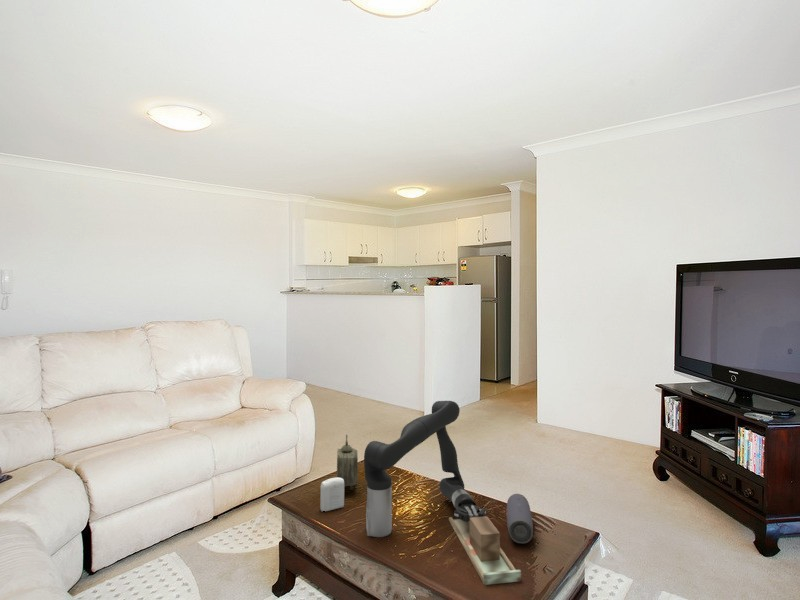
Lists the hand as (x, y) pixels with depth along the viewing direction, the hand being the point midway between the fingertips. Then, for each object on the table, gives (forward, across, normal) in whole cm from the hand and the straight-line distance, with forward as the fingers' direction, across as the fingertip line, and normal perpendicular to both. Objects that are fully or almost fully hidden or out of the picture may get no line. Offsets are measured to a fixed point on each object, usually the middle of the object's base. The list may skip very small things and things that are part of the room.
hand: (477, 524), depth 165 cm
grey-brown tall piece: (-52, -44, +7) cm, 69 cm away
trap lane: (+3, 0, +7) cm, 7 cm away
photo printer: (-36, -51, +7) cm, 62 cm away
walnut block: (+6, 0, +6) cm, 9 cm away
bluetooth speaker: (-5, +18, +7) cm, 20 cm away
